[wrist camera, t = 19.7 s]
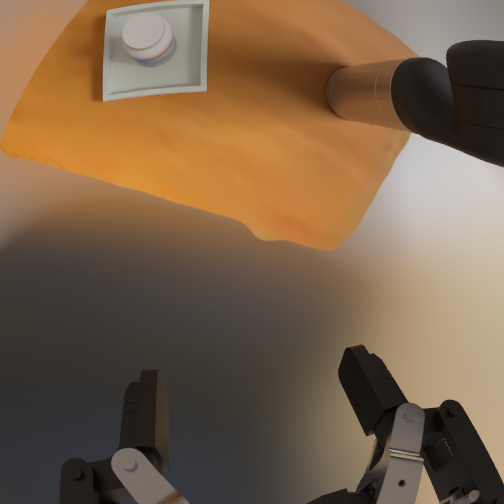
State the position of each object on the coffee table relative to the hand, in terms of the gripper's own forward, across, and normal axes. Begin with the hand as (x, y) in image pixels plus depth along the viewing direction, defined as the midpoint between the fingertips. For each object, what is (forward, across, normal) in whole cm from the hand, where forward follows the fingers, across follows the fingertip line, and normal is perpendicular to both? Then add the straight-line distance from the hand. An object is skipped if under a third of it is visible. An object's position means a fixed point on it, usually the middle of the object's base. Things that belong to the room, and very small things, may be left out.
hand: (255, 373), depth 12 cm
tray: (+36, +8, -20) cm, 42 cm away
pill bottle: (+36, +8, -20) cm, 41 cm away
